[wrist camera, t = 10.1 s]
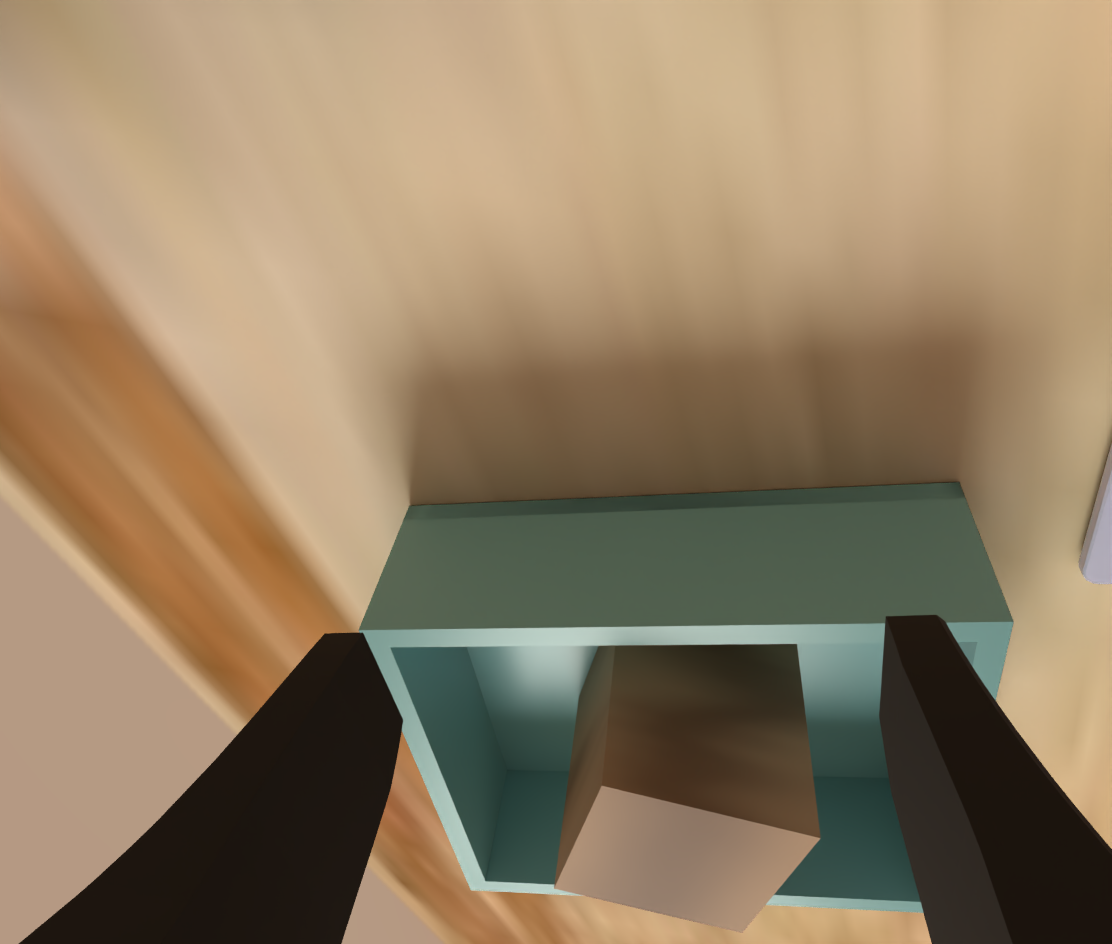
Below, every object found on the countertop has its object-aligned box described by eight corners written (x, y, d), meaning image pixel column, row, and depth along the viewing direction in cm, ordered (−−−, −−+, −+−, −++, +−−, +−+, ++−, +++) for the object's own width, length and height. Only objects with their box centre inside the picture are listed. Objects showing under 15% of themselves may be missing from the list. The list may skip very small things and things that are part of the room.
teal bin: (958, 481, 21) (1013, 621, 17) (914, 772, 28) (946, 913, 24) (409, 505, 23) (358, 630, 20) (496, 764, 30) (471, 889, 27)
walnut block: (795, 632, 24) (820, 838, 19) (734, 734, 27) (742, 932, 22) (620, 589, 23) (601, 786, 19) (578, 696, 27) (554, 888, 22)
